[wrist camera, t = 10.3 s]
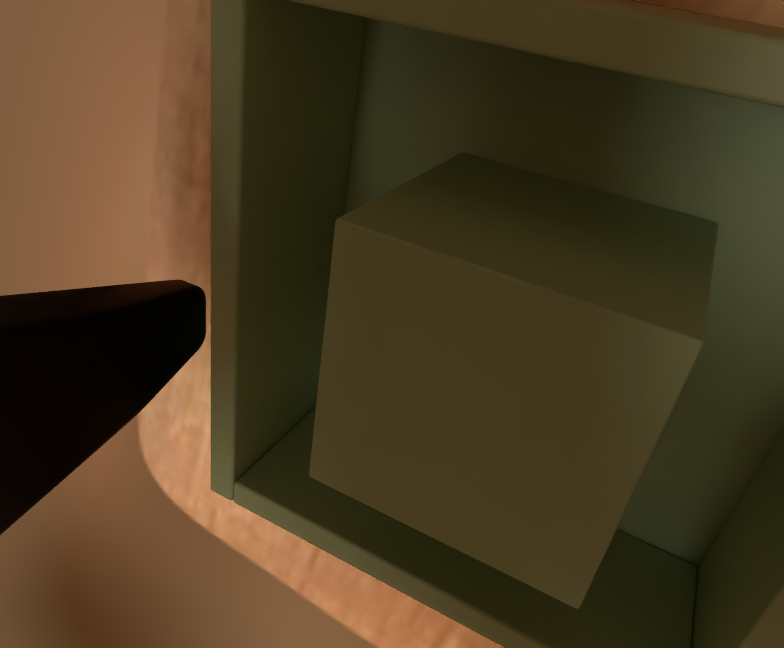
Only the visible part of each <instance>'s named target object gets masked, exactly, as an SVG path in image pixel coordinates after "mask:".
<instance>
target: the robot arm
mask: <svg viewBox="0 0 784 648" xmlns="http://www.w3.org/2000/svg"><path fill="white" fill-rule="evenodd" d="M205 335H206V296H205V293H204V291H203V290H202V289H201V288H200V287H198V286H196V285H193V284H191V283H189V282H186V281H183V280H167V281H156V282H146V283H135V284H124V285H113V286H103V287H92V288H81V289H70V290H60V291H48V292H39V293H27V294H16V295H5V296H0V535H1V534H2V533H3V532H4V531H5V530H7V529H8V528H9V527H10V526H11V525H12V524H13V523H15V522H16V521H17V520H18V519H19V518H20V517H21V516H23V515H24V514H25V513H26V512H27V511H28V510H29V509H30V508H32V507H33V506H34V505H35V504H36V503H37V502H38V501H40V500H41V499H42V498H43V497H44V496H45V495H46V494H48V493H49V492H50V491H51V490H52V489H53V488H54V487H56V486H57V485H58V484H59V483H60V482H61V481H62V480H64V479H65V478H66V477H67V476H68V475H69V474H70V473H72V472H73V471H74V470H75V469H76V468H77V467H78V466H80V465H81V464H82V463H83V462H84V461H85V460H86V459H87V458H89V456H91V455H92V454H93V453H94V452H95V451H97V450H98V449H99V448H100V447H101V446H102V445H103V444H104V443H106V442H107V441H108V440H109V439H110V438H111V437H113V436H114V435H115V434H116V433H117V432H118V431H119V430H120V429H122V428H123V427H124V426H125V425H126V424H127V423H128V422H129V421H131V420H132V419H133V418H134V417H135V416H136V415H137V414H138V413H139V412H140V411H141V410H142V409H143V408H144V407H145V406H146V405H147V404H148V403H149V402H150V401H151V400H152V399H153V398H154V397H155V396H156V394H157V393H158V392H159V391H160V390H161V389H162V388H163V387H164V386H165V385H166V384H167V383H168V382H169V380H170V379H171V378H172V377H173V376H174V375H175V374H176V373H177V372H178V371H179V370H180V369H181V368H182V367H183V365H184V364H185V363H186V362H187V361H188V360H189V359H190V358H191V357H192V356H193V355H194V354H195V353H196V352H197V350H198V349H199V348H200V347H201V345H202V344H203V341H204V339H205Z"/></svg>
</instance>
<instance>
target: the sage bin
mask: <svg viewBox="0 0 784 648" xmlns="http://www.w3.org/2000/svg"><path fill="white" fill-rule="evenodd" d="M460 153H466V154H470V155H474V156H477V157H481V158H484V159H488V160H492V161H495V162H499V163H502V164H506V165H510V166H513V167H517V168H521V169H524V170H528V171H531V172H535V173H539V174H542V175H546V176H549V177H553V178H557V179H560V180H564V181H568V182H571V183H575V184H578V185H582V186H586V187H589V188H593V189H596V190H600V191H604V192H607V193H611V194H615V195H618V196H622V197H625V198H629V199H633V200H636V201H640V202H643V203H647V204H651V205H654V206H658V207H662V208H665V209H669V210H672V211H676V212H680V213H683V214H687V215H690V216H694V217H698V218H701V219H705V220H709V221H712V222H716V223H717V224H718V234H717V242H716V249H715V257H714V265H713V273H712V281H711V289H710V297H709V304H708V312H707V320H706V328H705V336H704V344H703V347H702V349H701V351H700V353H699V355H698V357H697V359H696V361H695V364H694V366H693V368H692V370H691V372H690V374H689V376H688V378H687V381H686V383H685V385H684V387H683V389H682V391H681V393H680V396H679V398H678V400H677V402H676V404H675V406H674V408H673V410H672V413H671V415H670V417H669V419H668V421H667V423H666V425H665V427H664V430H663V432H662V434H661V436H660V438H659V440H658V442H657V444H656V447H655V449H654V451H653V453H652V455H651V457H650V459H649V461H648V464H647V466H646V468H645V470H644V472H643V474H642V476H641V478H640V481H639V483H638V485H637V487H636V489H635V491H634V493H633V495H632V498H631V500H630V502H629V504H628V506H627V508H626V510H625V512H624V515H623V517H622V519H621V521H620V523H619V525H618V527H617V530H616V532H615V534H614V536H613V538H612V540H611V542H610V544H609V547H608V549H607V551H606V553H605V555H604V557H603V559H602V561H601V564H600V566H599V568H598V570H597V572H596V574H595V576H594V578H593V581H592V583H591V585H590V587H589V589H588V591H587V593H586V595H585V598H584V600H583V602H582V604H581V606H580V607H579V608H578V609H577V608H574V607H572V606H570V605H568V604H566V603H564V602H562V601H560V600H558V599H556V598H554V597H552V596H550V595H548V594H546V593H544V592H542V591H540V590H538V589H536V588H534V587H532V586H530V585H528V584H526V583H524V582H522V581H520V580H518V579H516V578H513V577H511V576H509V575H507V574H505V573H503V572H501V571H499V570H497V569H495V568H493V567H491V566H489V565H487V564H485V563H483V562H481V561H479V560H477V559H475V558H473V557H471V556H469V555H467V554H465V553H463V552H461V551H459V550H457V549H455V548H453V547H451V546H449V545H447V544H445V543H443V542H441V541H439V540H437V539H435V538H433V537H431V536H429V535H427V534H425V533H423V532H421V531H419V530H417V529H415V528H413V527H411V526H409V525H407V524H404V523H402V522H400V521H398V520H396V519H394V518H392V517H390V516H388V515H386V514H384V513H382V512H380V511H378V510H376V509H374V508H372V507H370V506H368V505H366V504H364V503H362V502H360V501H358V500H356V499H354V498H352V497H350V496H348V495H346V494H344V493H342V492H340V491H338V490H336V489H334V488H332V487H330V486H328V485H326V484H324V483H322V482H320V481H318V480H316V479H314V478H312V477H310V476H309V469H310V460H311V450H312V441H313V431H314V422H315V412H316V403H317V393H318V384H319V374H320V364H321V355H322V345H323V336H324V326H325V317H326V307H327V298H328V288H329V279H330V269H331V260H332V250H333V240H334V231H335V222H336V220H337V218H339V217H341V216H343V215H345V214H347V213H348V212H350V211H352V210H354V209H356V208H358V207H360V206H362V205H364V204H365V203H367V202H369V201H371V200H373V199H375V198H377V197H379V196H381V195H383V194H384V193H386V192H388V191H390V190H392V189H394V188H396V187H398V186H400V185H401V184H403V183H405V182H407V181H409V180H411V179H413V178H415V177H417V176H419V175H420V174H422V173H424V172H426V171H428V170H430V169H432V168H434V167H436V166H438V165H439V164H441V163H443V162H445V161H447V160H449V159H451V158H453V157H455V156H456V155H458V154H460ZM211 489H212V490H213V491H214V492H216V493H218V494H220V495H222V496H223V497H225V498H227V499H229V500H234V502H235V503H237V504H239V505H240V506H242V507H244V508H246V509H248V510H250V511H252V512H253V513H255V514H257V515H259V516H261V517H263V518H265V519H266V520H268V521H270V522H272V523H274V524H276V525H278V526H279V527H281V528H283V529H285V530H287V531H289V532H291V533H293V534H294V535H296V536H298V537H300V538H302V539H304V540H306V541H307V542H309V543H311V544H313V545H315V546H317V547H319V548H320V549H322V550H324V551H326V552H328V553H330V554H332V555H333V556H335V557H337V558H339V559H341V560H343V561H345V562H347V563H348V564H350V565H352V566H354V567H356V568H358V569H360V570H361V571H363V572H365V573H367V574H369V575H371V576H373V577H374V578H376V579H378V580H380V581H382V582H384V583H386V584H387V585H389V586H391V587H393V588H395V589H397V590H399V591H401V592H402V593H404V594H406V595H408V596H410V597H412V598H414V599H415V600H417V601H419V602H421V603H423V604H425V605H427V606H428V607H430V608H432V609H434V610H436V611H438V612H440V613H441V614H443V615H445V616H447V617H449V618H451V619H453V620H455V621H456V622H458V623H460V624H462V625H464V626H466V627H468V628H469V629H471V630H473V631H475V632H477V633H479V634H481V635H482V636H484V637H486V638H488V639H490V640H492V641H494V642H495V643H497V644H499V645H501V646H503V647H505V648H784V28H779V27H773V26H768V25H762V24H757V23H751V22H746V21H740V20H734V19H729V18H723V17H718V16H712V15H707V14H701V13H696V12H690V11H684V10H679V9H673V8H668V7H662V6H657V5H651V4H646V3H640V2H634V1H629V0H211Z"/></svg>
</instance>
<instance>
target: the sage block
mask: <svg viewBox="0 0 784 648" xmlns="http://www.w3.org/2000/svg"><path fill="white" fill-rule="evenodd" d="M717 234H718V224H717V223H716V222H712V221H709V220H705V219H701V218H698V217H694V216H690V215H687V214H683V213H680V212H676V211H672V210H669V209H665V208H662V207H658V206H654V205H651V204H647V203H643V202H640V201H636V200H633V199H629V198H625V197H622V196H618V195H615V194H611V193H607V192H604V191H600V190H596V189H593V188H589V187H586V186H582V185H578V184H575V183H571V182H568V181H564V180H560V179H557V178H553V177H549V176H546V175H542V174H539V173H535V172H531V171H528V170H524V169H521V168H517V167H513V166H510V165H506V164H502V163H499V162H495V161H492V160H488V159H484V158H481V157H477V156H474V155H470V154H466V153H460V154H458V155H456V156H455V157H453V158H451V159H449V160H447V161H445V162H443V163H441V164H439V165H438V166H436V167H434V168H432V169H430V170H428V171H426V172H424V173H422V174H420V175H419V176H417V177H415V178H413V179H411V180H409V181H407V182H405V183H403V184H401V185H400V186H398V187H396V188H394V189H392V190H390V191H388V192H386V193H384V194H383V195H381V196H379V197H377V198H375V199H373V200H371V201H369V202H367V203H365V204H364V205H362V206H360V207H358V208H356V209H354V210H352V211H350V212H348V213H347V214H345V215H343V216H341V217H339V218H337V220H336V222H335V231H334V240H333V250H332V260H331V269H330V279H329V288H328V298H327V307H326V317H325V326H324V336H323V345H322V355H321V364H320V374H319V384H318V393H317V403H316V412H315V422H314V431H313V441H312V450H311V460H310V469H309V476H310V477H312V478H314V479H316V480H318V481H320V482H322V483H324V484H326V485H328V486H330V487H332V488H334V489H336V490H338V491H340V492H342V493H344V494H346V495H348V496H350V497H352V498H354V499H356V500H358V501H360V502H362V503H364V504H366V505H368V506H370V507H372V508H374V509H376V510H378V511H380V512H382V513H384V514H386V515H388V516H390V517H392V518H394V519H396V520H398V521H400V522H402V523H404V524H407V525H409V526H411V527H413V528H415V529H417V530H419V531H421V532H423V533H425V534H427V535H429V536H431V537H433V538H435V539H437V540H439V541H441V542H443V543H445V544H447V545H449V546H451V547H453V548H455V549H457V550H459V551H461V552H463V553H465V554H467V555H469V556H471V557H473V558H475V559H477V560H479V561H481V562H483V563H485V564H487V565H489V566H491V567H493V568H495V569H497V570H499V571H501V572H503V573H505V574H507V575H509V576H511V577H513V578H516V579H518V580H520V581H522V582H524V583H526V584H528V585H530V586H532V587H534V588H536V589H538V590H540V591H542V592H544V593H546V594H548V595H550V596H552V597H554V598H556V599H558V600H560V601H562V602H564V603H566V604H568V605H570V606H572V607H574V608H577V609H578V608H579V607H580V606H581V604H582V602H583V600H584V598H585V595H586V593H587V591H588V589H589V587H590V585H591V583H592V581H593V578H594V576H595V574H596V572H597V570H598V568H599V566H600V564H601V561H602V559H603V557H604V555H605V553H606V551H607V549H608V547H609V544H610V542H611V540H612V538H613V536H614V534H615V532H616V530H617V527H618V525H619V523H620V521H621V519H622V517H623V515H624V512H625V510H626V508H627V506H628V504H629V502H630V500H631V498H632V495H633V493H634V491H635V489H636V487H637V485H638V483H639V481H640V478H641V476H642V474H643V472H644V470H645V468H646V466H647V464H648V461H649V459H650V457H651V455H652V453H653V451H654V449H655V447H656V444H657V442H658V440H659V438H660V436H661V434H662V432H663V430H664V427H665V425H666V423H667V421H668V419H669V417H670V415H671V413H672V410H673V408H674V406H675V404H676V402H677V400H678V398H679V396H680V393H681V391H682V389H683V387H684V385H685V383H686V381H687V378H688V376H689V374H690V372H691V370H692V368H693V366H694V364H695V361H696V359H697V357H698V355H699V353H700V351H701V349H702V347H703V344H704V336H705V328H706V320H707V312H708V304H709V297H710V289H711V281H712V273H713V265H714V257H715V249H716V242H717Z"/></svg>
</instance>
